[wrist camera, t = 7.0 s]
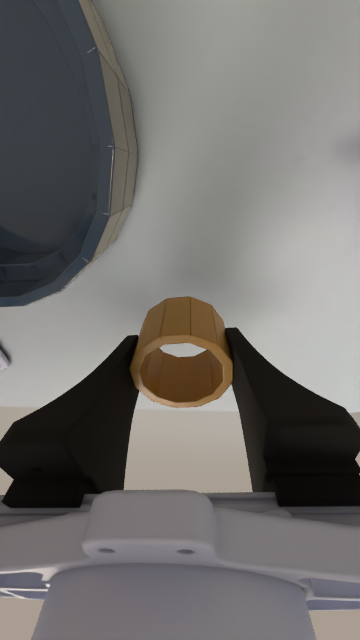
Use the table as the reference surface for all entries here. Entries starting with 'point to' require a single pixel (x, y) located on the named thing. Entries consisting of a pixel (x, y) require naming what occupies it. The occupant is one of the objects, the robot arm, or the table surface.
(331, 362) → the table surface
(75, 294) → the table surface
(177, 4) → the table surface
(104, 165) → the bowl
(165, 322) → the ring
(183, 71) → the table surface
